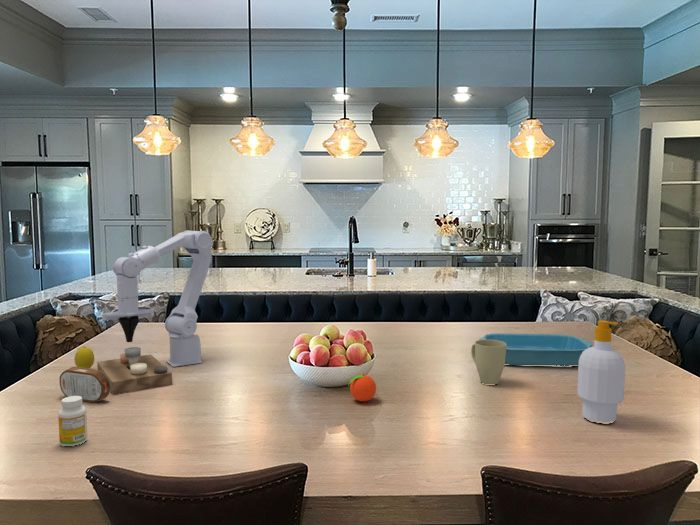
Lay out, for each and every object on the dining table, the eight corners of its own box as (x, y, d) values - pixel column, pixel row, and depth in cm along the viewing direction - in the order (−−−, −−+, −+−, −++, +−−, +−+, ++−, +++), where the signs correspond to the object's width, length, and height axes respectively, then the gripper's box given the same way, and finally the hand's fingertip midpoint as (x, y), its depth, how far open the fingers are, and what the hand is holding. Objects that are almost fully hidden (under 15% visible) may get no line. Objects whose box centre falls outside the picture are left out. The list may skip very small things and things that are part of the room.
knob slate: (139, 363, 166) (138, 346, 166) (142, 366, 163) (142, 349, 162) (123, 365, 164) (123, 348, 163) (127, 369, 160) (126, 351, 160)
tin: (111, 401, 144) (110, 370, 144) (102, 405, 141) (101, 373, 141) (67, 394, 149) (66, 364, 148) (57, 398, 146) (56, 367, 146)
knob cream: (145, 379, 161) (144, 362, 160) (148, 383, 157) (148, 365, 157) (129, 382, 158) (128, 364, 158) (132, 386, 155) (132, 368, 154)
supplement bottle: (66, 437, 121) (64, 394, 120) (91, 436, 122) (89, 394, 121) (55, 447, 116) (53, 403, 115) (81, 447, 116) (79, 402, 115)
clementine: (354, 407, 140) (354, 380, 139) (341, 399, 146) (342, 373, 146) (381, 402, 144) (381, 376, 143) (368, 394, 150) (368, 369, 149)
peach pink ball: (134, 368, 172) (133, 351, 172) (137, 371, 169) (137, 354, 168) (119, 370, 170) (118, 353, 169) (122, 373, 166) (121, 357, 166)
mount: (151, 364, 178) (150, 350, 177) (172, 384, 158) (171, 368, 158) (97, 372, 169) (97, 357, 169) (112, 394, 149) (112, 377, 149)
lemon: (87, 374, 167) (85, 348, 167) (71, 373, 169) (70, 347, 168) (98, 369, 173) (97, 344, 172) (83, 368, 174) (82, 343, 173)
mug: (508, 380, 163) (509, 340, 162) (502, 389, 154) (503, 348, 153) (471, 375, 168) (472, 336, 167) (463, 384, 159) (464, 344, 158)
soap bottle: (619, 431, 126) (625, 327, 123) (572, 422, 131) (576, 322, 129) (624, 417, 134) (629, 320, 132) (579, 408, 140) (584, 315, 138)
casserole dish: (483, 368, 176) (484, 346, 176) (474, 350, 198) (475, 331, 198) (602, 372, 173) (603, 350, 172) (579, 353, 195) (580, 334, 194)
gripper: (103, 301, 157) (105, 347, 159) (155, 297, 165) (157, 341, 166) (100, 297, 163) (101, 342, 164) (150, 293, 171) (151, 336, 172)
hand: (129, 341), depth 166 cm, fingers closed
